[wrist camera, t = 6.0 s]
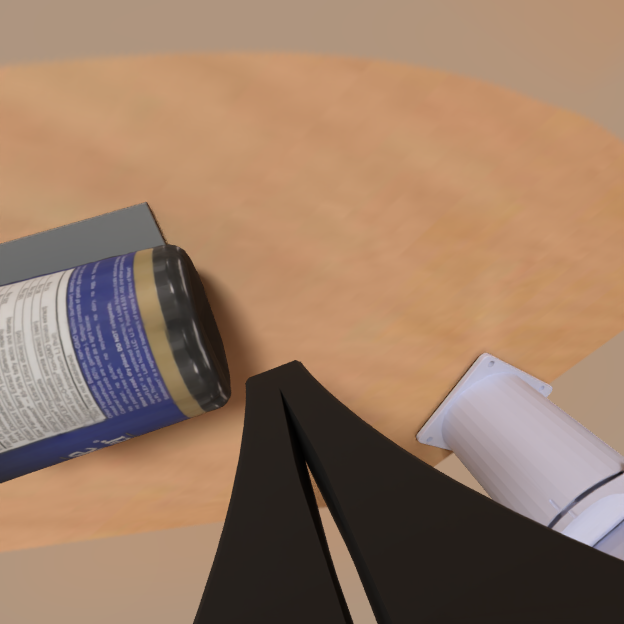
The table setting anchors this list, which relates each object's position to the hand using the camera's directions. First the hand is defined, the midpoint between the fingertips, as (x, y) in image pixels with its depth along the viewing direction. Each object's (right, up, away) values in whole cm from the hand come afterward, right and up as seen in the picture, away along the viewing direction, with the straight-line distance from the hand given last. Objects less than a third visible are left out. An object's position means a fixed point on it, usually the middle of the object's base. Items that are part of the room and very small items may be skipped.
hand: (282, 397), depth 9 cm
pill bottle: (-3, +2, +4) cm, 5 cm away
